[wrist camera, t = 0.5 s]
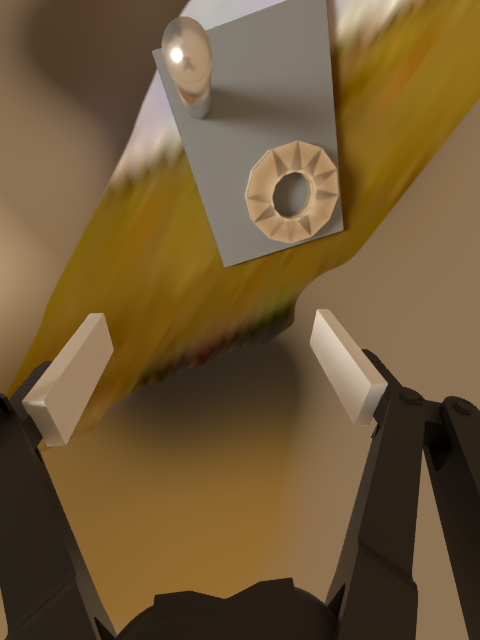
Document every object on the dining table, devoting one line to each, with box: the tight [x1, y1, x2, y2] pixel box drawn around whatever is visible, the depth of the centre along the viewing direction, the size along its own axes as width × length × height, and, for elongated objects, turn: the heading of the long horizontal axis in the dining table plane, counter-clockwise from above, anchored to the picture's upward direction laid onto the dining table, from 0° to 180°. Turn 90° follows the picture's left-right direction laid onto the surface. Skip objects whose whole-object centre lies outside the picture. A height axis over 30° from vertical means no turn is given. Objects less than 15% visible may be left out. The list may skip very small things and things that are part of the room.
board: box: [152, 0, 343, 267], centre depth 33 cm, size 24×18×2 cm
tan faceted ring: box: [245, 140, 339, 243], centre depth 33 cm, size 11×11×3 cm
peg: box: [162, 17, 212, 119], centre depth 22 cm, size 3×3×15 cm
